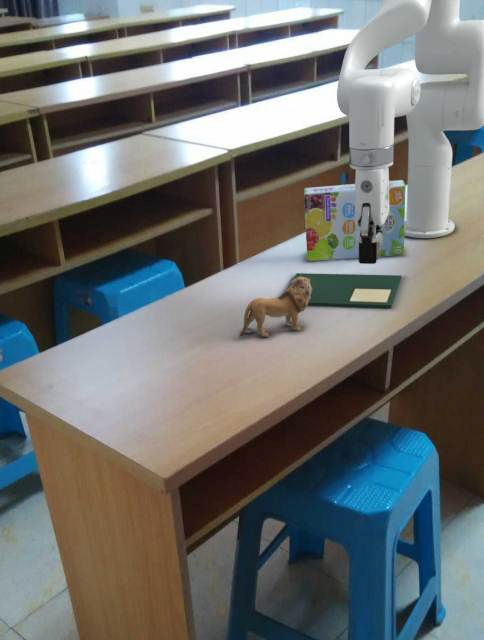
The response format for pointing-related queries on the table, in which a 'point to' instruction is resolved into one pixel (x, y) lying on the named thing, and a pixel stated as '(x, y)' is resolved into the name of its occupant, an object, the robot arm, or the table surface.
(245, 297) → the table surface
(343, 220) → the snack box
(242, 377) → the table surface
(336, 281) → the desk mat
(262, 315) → the lion figurine
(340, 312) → the table surface
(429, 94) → the robot arm
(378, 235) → the grooved metal pulley
